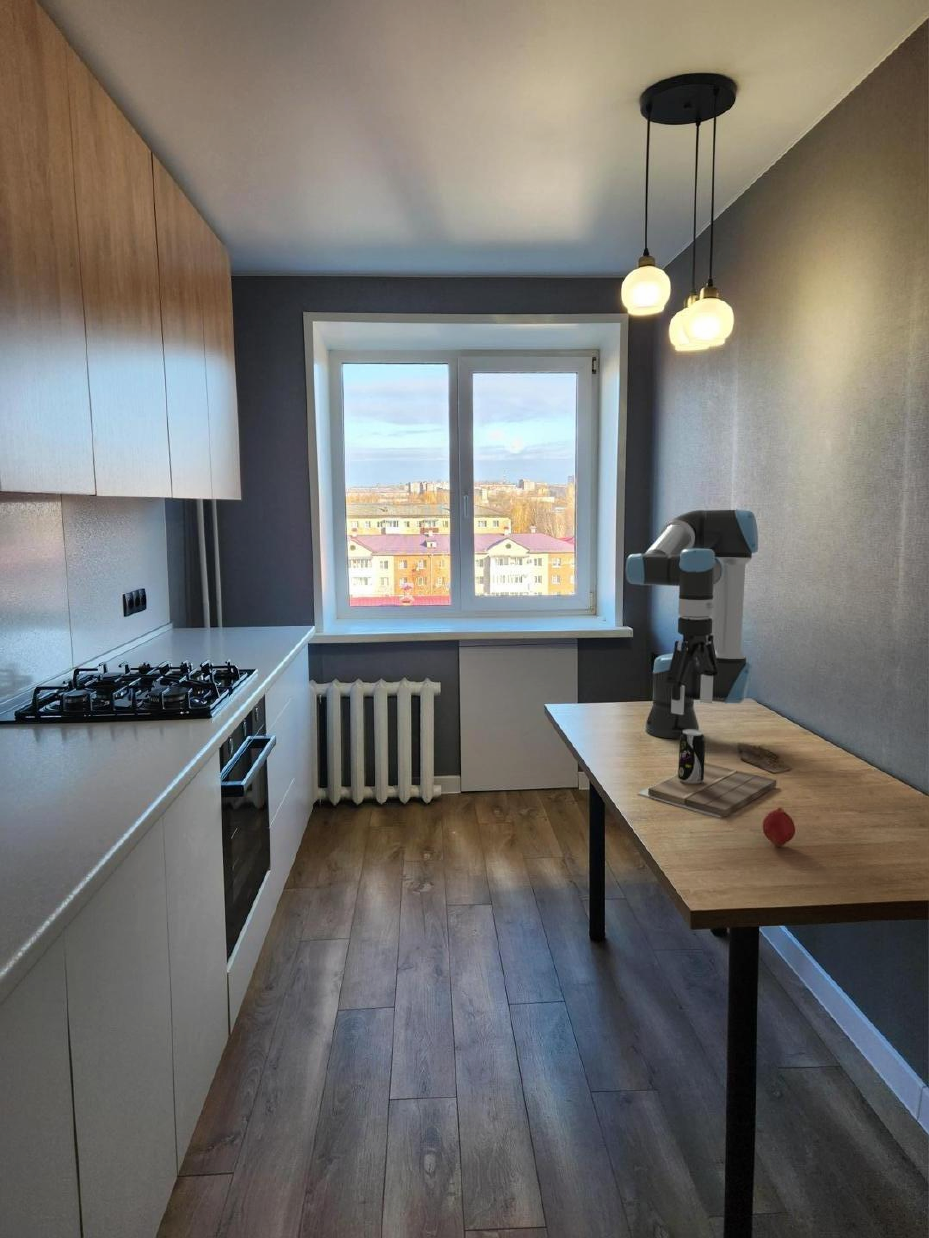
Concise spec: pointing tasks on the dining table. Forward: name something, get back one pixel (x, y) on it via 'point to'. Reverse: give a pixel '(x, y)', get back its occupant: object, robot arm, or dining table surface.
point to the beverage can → (691, 756)
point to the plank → (681, 791)
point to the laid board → (731, 793)
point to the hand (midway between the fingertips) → (692, 708)
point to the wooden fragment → (762, 758)
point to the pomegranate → (778, 827)
